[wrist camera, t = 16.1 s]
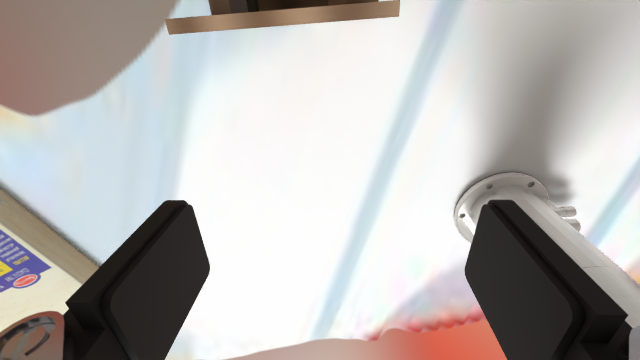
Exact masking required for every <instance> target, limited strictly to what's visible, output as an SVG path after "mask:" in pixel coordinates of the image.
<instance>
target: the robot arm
mask: <svg viewBox="0 0 640 360" xmlns="http://www.w3.org/2000/svg"><path fill="white" fill-rule="evenodd" d="M575 215H576V209H575V208H574V207H572V206H569V207H556V206H555V205H553V204H552V203H551V202H550V201H549V196H548V193H547V190H546V189H545V187H544V186H543V185H542V184H541V183H540V182H539V181H537V180H536V179H535V178H533V177H531V176H529V175H526V174H523V173H515V172H511V173H501V174H497V175H493V176H491V177H488V178H485V179H484V180H482V181H480V182H478V183H476V184H475V185H474V186H472V187H471V188H470V189H469V190H468V191H467V192H466V193H465V194H464V195H463V196H462V198H461V199H460V200H459V202H458V204H457V206H456V209H455V213H454V221H455V225H456V227H457V229H458V231H459V233H460V234H461V235H462V237H463V238H465V239H466V240H467V241H469V242H471V243H472V244H471V248H470V251H469V255H468V259H467V262H466V266H465V276H466V279H467V281H468V283H469V285H470V287H471V289H472V291H473V293H474V295H475V297H476V299H477V301H478V303H479V305H480V307H481V309H482V311H483V312H484V314H485V316H486V318H487V320H488V322H489V324H490V326H491V328H492V330H493V332H494V334H495V336H496V338H497V340H498V342H499V344H500V346H501V348H502V350H503V352H504V354H505V356H506V358H507V360H640V284H639V283H638V282H636V281H635V280H634V279H633V278H632V277H631V276H629V275H628V274H627V273H626V272H625V271H623V270H622V269H621V268H620V267H619V266H618V265H616V264H615V263H614V262H613V261H612V260H611V259H609V258H608V257H607V256H606V255H605V254H604V253H602V252H601V251H600V250H599V249H598V248H597V247H595V246H594V245H593V244H592V243H591V242H590V241H588V240H587V239H586V238H585V237H584V236H583V235H581V234H580V233H579V231H580V223H579V222H578V221H577V220H576V219H563V218H562V217H572V216H575ZM560 216H562V217H560ZM209 271H210V265H209V261H208V257H207V254H206V251H205V247H204V244H203V241H202V237H201V234H200V230H199V227H198V224H197V220H196V217H195V214H194V210H193V207H192V206H191V205H188V203H187V202H186V201H184V200H167V201H165V202H163V203H162V204H161V205H160V206H159V207H158V209H157V210H156V211H155V212H154V213H153V214H152V215H151V216H150V217H149V218H148V219H147V220H146V221H145V222H144V223H143V224H142V225H141V226H140V227H139V228H138V229H137V230H136V231H135V232H134V233H133V234H132V235H131V236H130V237H129V238H128V239H127V240H126V241H125V242H124V243H123V244H122V245H121V246H120V247H119V248H118V249H117V250H116V251H115V252H114V253H113V254H112V255H111V256H110V257H109V258H108V259H107V260H106V261H105V262H104V263H103V264H102V265H101V266H100V267H99V268H98V269H97V270H96V271H95V273H94V274H93V275H92V276H91V277H90V278H89V279H88V280H87V281H86V282H85V283H84V284H83V285H82V286H81V287H80V288H79V289H78V290H77V291H76V292H75V293H74V294H73V295H72V296H71V297H70V298H69V299H68V300H67V301H66V302H65V304H66V305H67V306H68V308H69V309H68V310H67V311H66V312H65V314H64V315H62V314H61V313H59V312H57V311H45V312H39V313H36V314H33V315H30V316H27V317H25V318H23V319H21V320H19V321H17V322H15V323H13V324H12V325H10V326H9V327H7V328H6V329H4V330H3V331H1V332H0V360H165V358H166V356H167V354H168V352H169V350H170V348H171V346H172V344H173V342H174V340H175V338H176V337H177V335H178V333H179V331H180V329H181V327H182V325H183V323H184V321H185V319H186V317H187V315H188V313H189V311H190V310H191V308H192V306H193V304H194V302H195V300H196V298H197V296H198V294H199V292H200V290H201V288H202V286H203V284H204V282H205V281H206V279H207V277H208V274H209Z"/></svg>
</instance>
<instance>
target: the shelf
mask: <svg viewBox="0 0 640 360" xmlns="http://www.w3.org/2000/svg"><path fill="white" fill-rule="evenodd" d="M209 5H210V9H211V14H212V15H211V16H199V17H187V18H174V19H165V22H166V25H167V29H168V32H169V35H170V34H183V33H195V32H208V31H221V30H233V29H246V28H259V27H271V26H284V25H297V24H309V23H322V22H335V21H347V20H360V19H373V18H385V17H398V16H399V9H400V0H393V1H381V2H378V0H209Z"/></svg>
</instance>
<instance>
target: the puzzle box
mask: <svg viewBox="0 0 640 360" xmlns="http://www.w3.org/2000/svg"><path fill="white" fill-rule="evenodd" d="M98 268H99V267H98V266H97V265H96V264H94V263H93V262H92V261H91V260H89V259H88V258H87V257H86V256H84V255H83V254H82V253H81V252H79V251H78V250H77V249H76V248H74V247H73V246H72V245H71V244H69V243H68V242H67V241H65V240H64V239H63V238H62V237H60V236H59V235H58V234H57V233H55V232H54V231H53V230H52V229H50V228H49V227H48V226H47V225H45V224H44V223H43V222H42V221H40V220H39V219H38V218H37V217H35V216H34V215H33V214H32V213H30V212H29V211H28V210H27V209H25V208H24V207H23V206H22V205H20V204H19V203H18V202H17V201H16V200H14V199H13V198H12V197H11V196H9V195H8V194H7V193H5V192H4V191H3V190H2V189H0V332H1V331H3V330H4V329H6V328H7V327H9V326H10V325H12V324H13V323H15V322H17V321H19V320H21V319H23V318H25V317H27V316H30V315H33V314H36V313H39V312H45V311H57V312H59V313H61V314H62V315H64V314H65V312H66V311H67V310H68V309H69V308H68V306H67V305H66V304H65V302H66V301H67V300H68V299H69V298H70V297H71V296H72V295H73V294H74V293H75V292H76V291H77V290H78V289H79V288H80V287H81V286H82V285H83V284H84V283H85V282H86V281H87V280H88V279H89V278H90V277H91V276H92V275H93V274H94V273H95V271H96V270H97V269H98Z"/></svg>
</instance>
